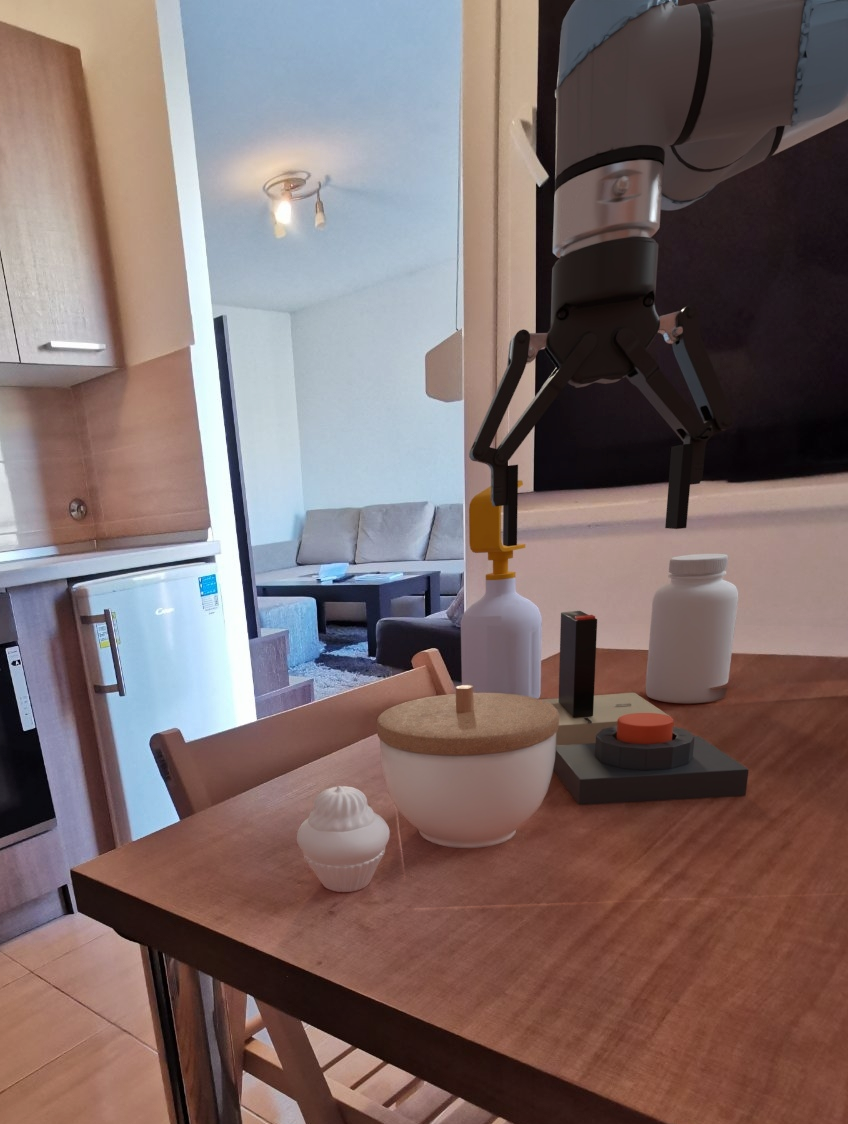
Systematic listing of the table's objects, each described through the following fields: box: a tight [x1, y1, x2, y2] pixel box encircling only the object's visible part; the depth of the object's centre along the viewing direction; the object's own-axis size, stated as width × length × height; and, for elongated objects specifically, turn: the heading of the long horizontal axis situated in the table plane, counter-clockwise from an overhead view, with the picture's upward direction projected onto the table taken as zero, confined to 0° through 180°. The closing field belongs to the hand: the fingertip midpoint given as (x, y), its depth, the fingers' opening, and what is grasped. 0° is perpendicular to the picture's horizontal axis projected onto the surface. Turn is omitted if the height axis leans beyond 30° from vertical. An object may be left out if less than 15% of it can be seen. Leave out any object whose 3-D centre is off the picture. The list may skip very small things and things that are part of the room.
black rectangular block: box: [558, 610, 598, 717], centre depth 72 cm, size 6×2×9 cm, turn 172°
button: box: [616, 713, 675, 744], centre depth 61 cm, size 4×4×2 cm
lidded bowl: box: [376, 684, 559, 849], centre depth 56 cm, size 13×13×11 cm
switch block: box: [553, 726, 750, 806], centre depth 62 cm, size 12×9×4 cm
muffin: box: [296, 785, 391, 893], centre depth 51 cm, size 6×6×7 cm
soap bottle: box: [460, 479, 543, 699], centre depth 88 cm, size 9×9×25 cm
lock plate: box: [542, 692, 670, 746], centre depth 75 cm, size 14×10×3 cm
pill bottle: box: [645, 553, 739, 705], centre depth 82 cm, size 8×8×15 cm
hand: (591, 537), depth 66 cm, fingers open, 13 cm apart
